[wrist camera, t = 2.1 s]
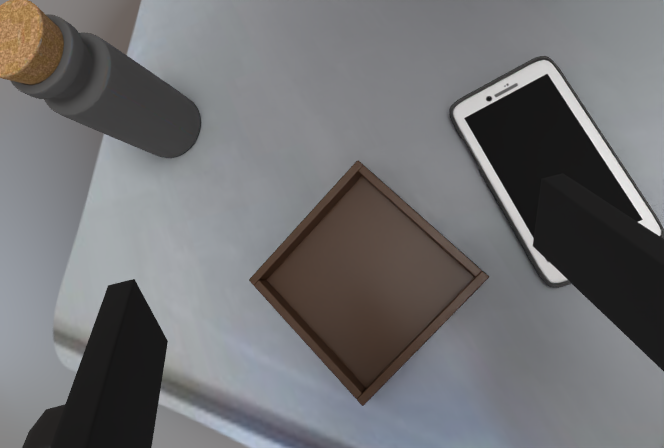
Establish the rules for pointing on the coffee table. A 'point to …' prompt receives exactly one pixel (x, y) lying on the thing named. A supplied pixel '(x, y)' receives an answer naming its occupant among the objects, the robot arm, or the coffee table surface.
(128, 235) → the coffee table surface
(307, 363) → the coffee table surface
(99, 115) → the bottle
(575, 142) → the cell phone
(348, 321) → the tray
